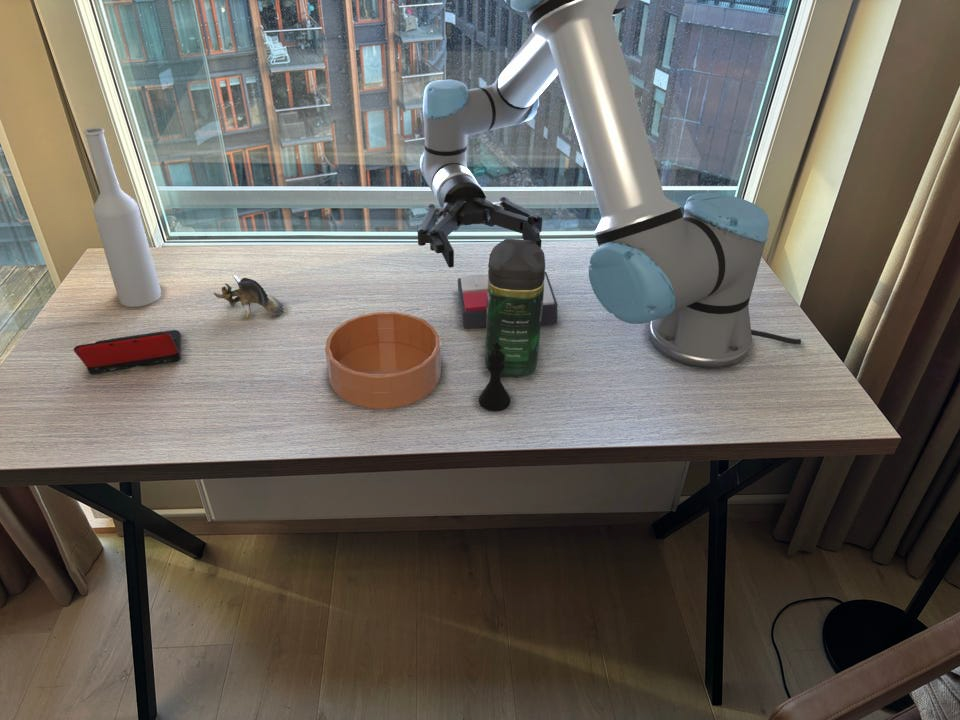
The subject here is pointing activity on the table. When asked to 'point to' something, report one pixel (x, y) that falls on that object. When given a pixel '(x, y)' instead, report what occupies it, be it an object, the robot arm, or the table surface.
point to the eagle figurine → (251, 296)
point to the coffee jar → (515, 304)
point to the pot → (383, 359)
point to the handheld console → (130, 351)
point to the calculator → (476, 301)
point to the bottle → (121, 231)
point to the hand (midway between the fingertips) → (495, 254)
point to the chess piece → (495, 383)
